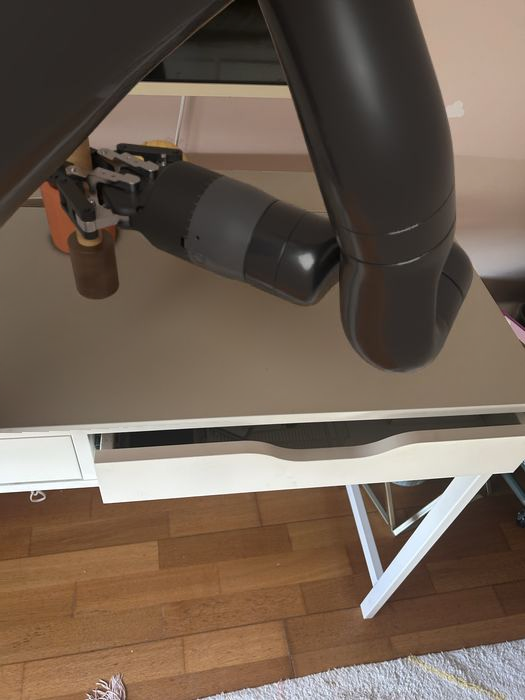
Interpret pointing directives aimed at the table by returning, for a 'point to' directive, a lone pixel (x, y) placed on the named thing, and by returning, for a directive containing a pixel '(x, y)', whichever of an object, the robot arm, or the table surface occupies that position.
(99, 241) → the brown cylinder
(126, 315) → the table surface
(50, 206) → the jar
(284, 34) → the robot arm
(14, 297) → the table surface
